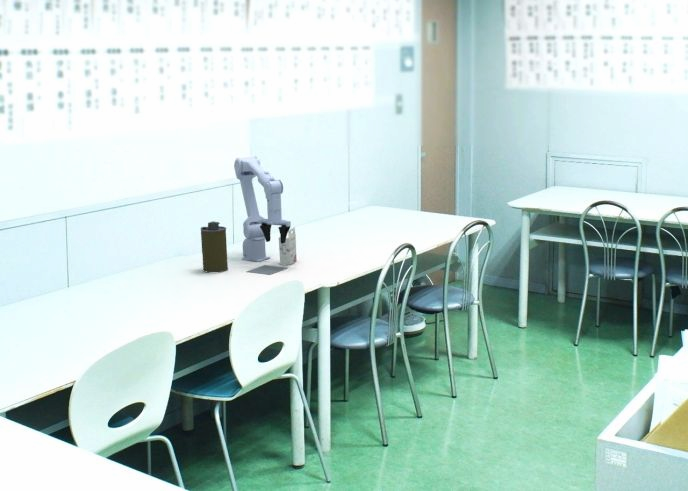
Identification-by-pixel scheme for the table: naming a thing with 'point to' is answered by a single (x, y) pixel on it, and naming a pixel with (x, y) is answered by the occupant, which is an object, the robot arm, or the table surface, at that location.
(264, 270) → the mat
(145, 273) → the table surface
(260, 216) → the robot arm
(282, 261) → the ink cartridge box
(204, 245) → the canister
